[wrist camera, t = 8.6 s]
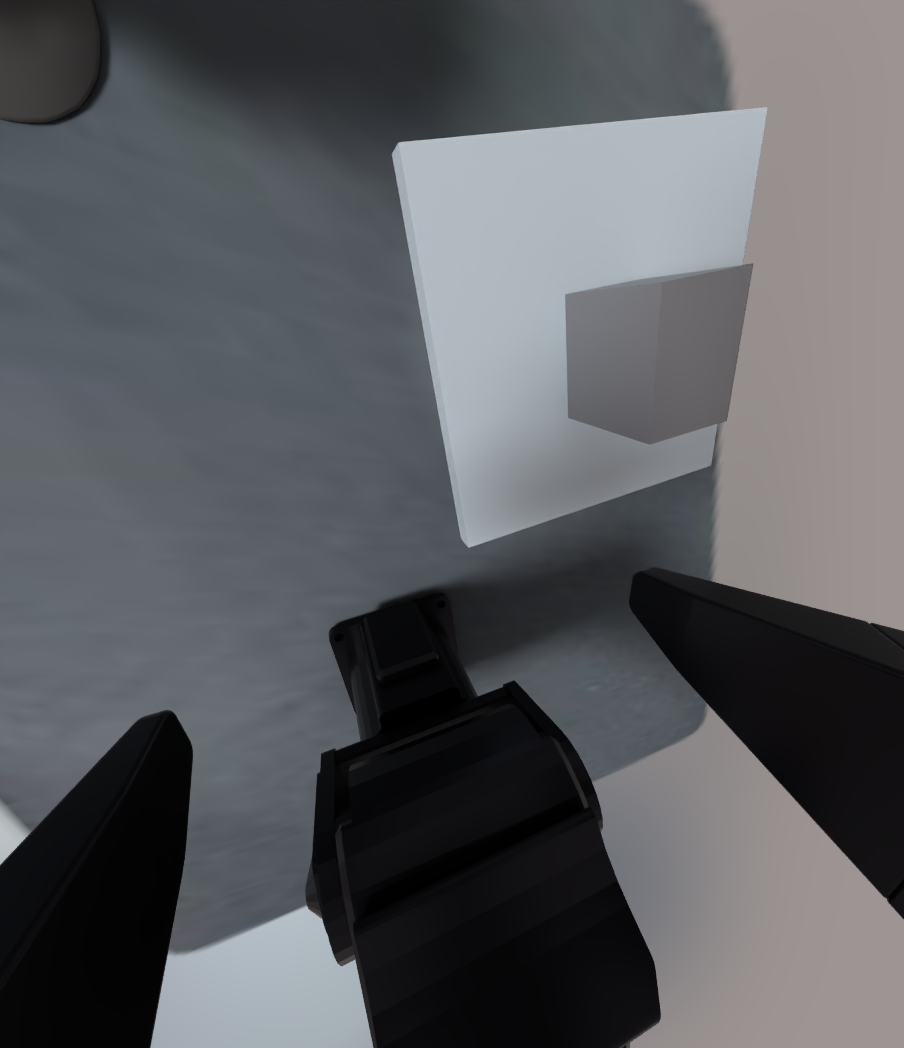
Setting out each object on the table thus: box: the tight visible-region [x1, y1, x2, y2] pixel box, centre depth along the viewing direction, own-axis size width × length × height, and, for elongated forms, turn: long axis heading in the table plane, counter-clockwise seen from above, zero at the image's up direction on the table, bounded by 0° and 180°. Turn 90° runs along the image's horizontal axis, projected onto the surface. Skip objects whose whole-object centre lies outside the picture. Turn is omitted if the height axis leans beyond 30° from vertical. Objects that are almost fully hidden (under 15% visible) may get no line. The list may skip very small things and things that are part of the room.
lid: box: [392, 107, 767, 548], centre depth 13 cm, size 12×12×5 cm
